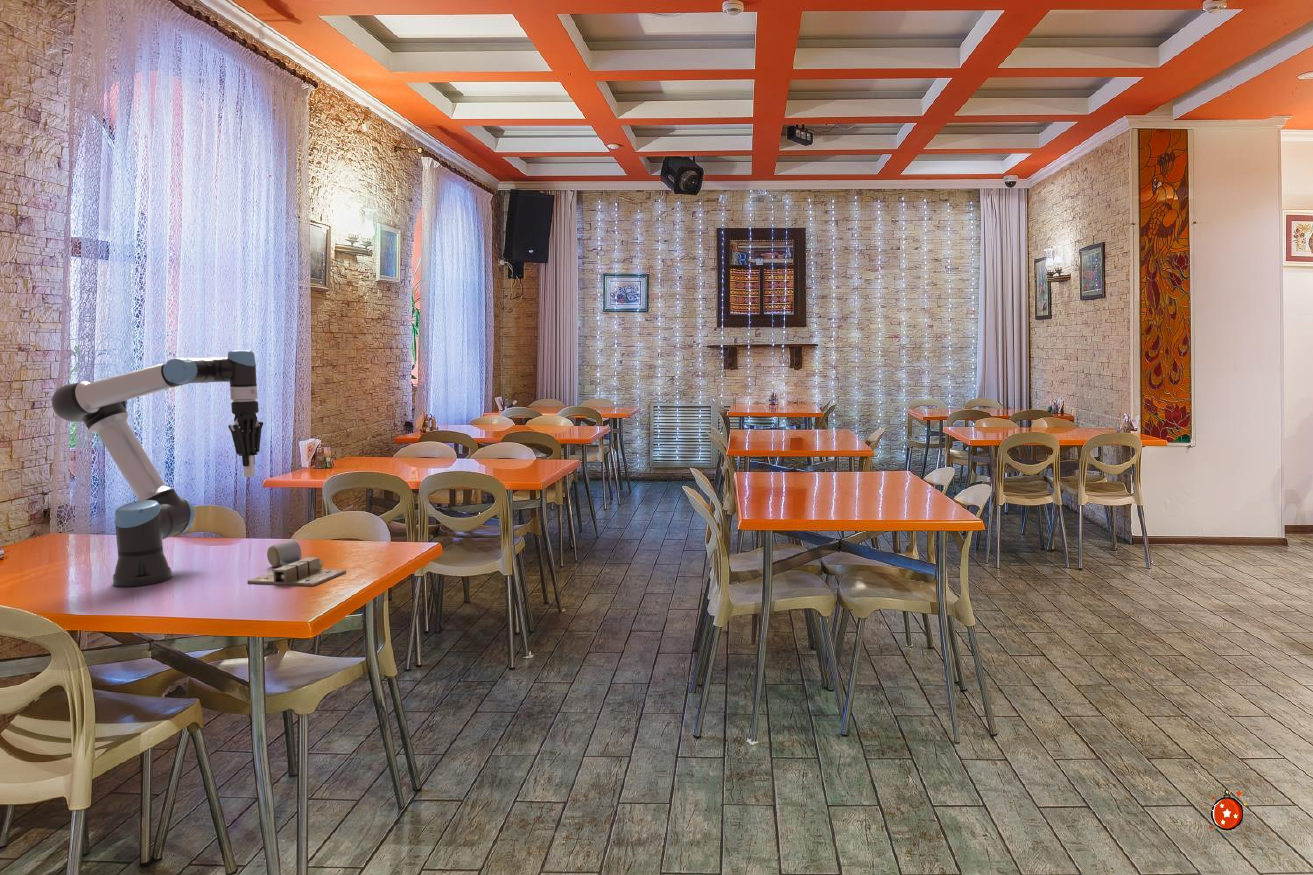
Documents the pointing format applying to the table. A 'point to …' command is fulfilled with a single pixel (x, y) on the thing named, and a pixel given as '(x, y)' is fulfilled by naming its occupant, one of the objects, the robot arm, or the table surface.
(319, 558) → the pin
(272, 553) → the ceramic mug
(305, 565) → the hinge
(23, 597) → the table surface
